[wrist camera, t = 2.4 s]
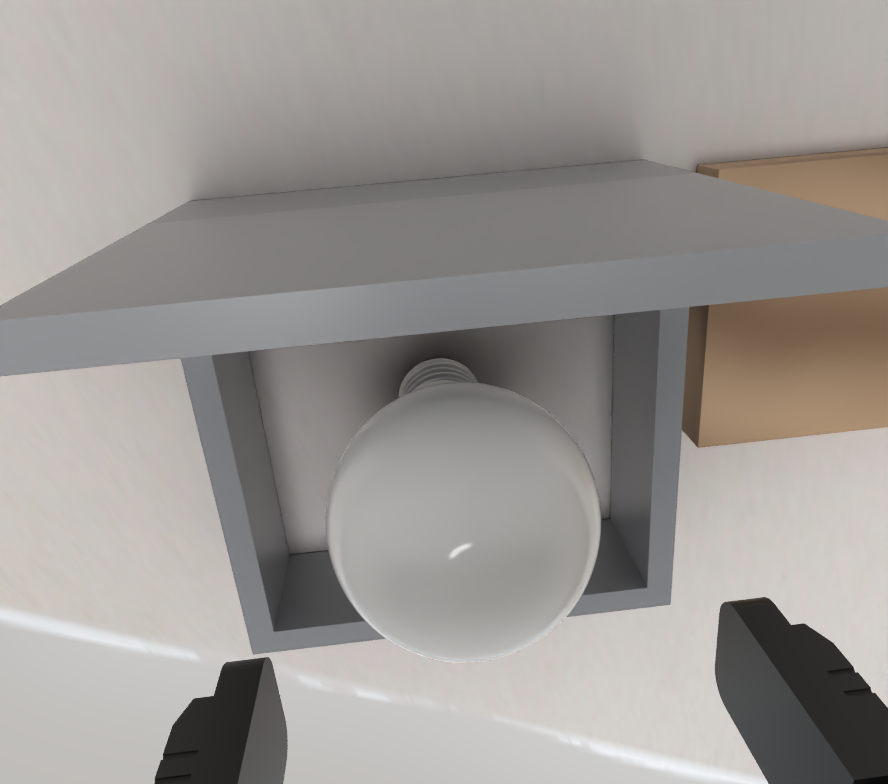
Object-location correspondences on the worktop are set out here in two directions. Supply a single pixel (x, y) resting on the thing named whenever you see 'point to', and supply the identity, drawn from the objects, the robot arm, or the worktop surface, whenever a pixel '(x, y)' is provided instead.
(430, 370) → the lightbulb
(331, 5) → the worktop surface
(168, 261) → the case
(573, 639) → the worktop surface
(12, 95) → the worktop surface
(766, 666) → the robot arm
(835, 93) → the worktop surface
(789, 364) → the stand
